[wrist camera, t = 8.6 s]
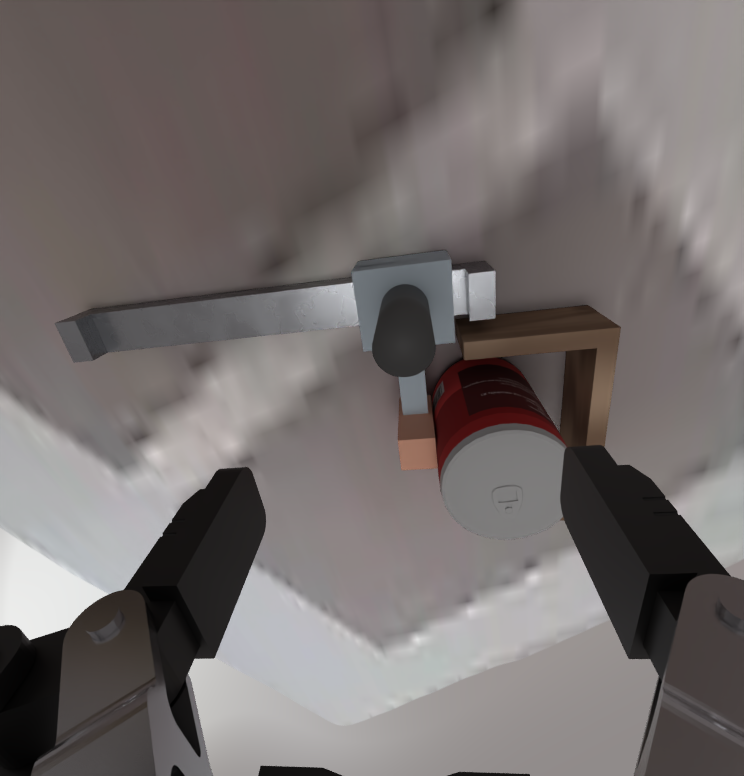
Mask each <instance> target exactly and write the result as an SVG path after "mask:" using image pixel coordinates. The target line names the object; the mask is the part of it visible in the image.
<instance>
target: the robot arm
mask: <svg viewBox="0 0 744 776" xmlns="http://www.w3.org/2000/svg"><path fill="white" fill-rule="evenodd" d="M560 504H561V510H562V514H563V518H564V521H565V523H566V525H567V528H568V530H569V532H570V534H571V536H572V538H573V540H574V543H575V545H576V547H577V549H578V551H579V553H580V555H581V558H582V560H583V562H584V564H585V566H586V568H587V570H588V573H589V575H590V577H591V579H592V581H593V583H594V585H595V588H596V590H597V592H598V594H599V596H600V598H601V600H602V603H603V605H604V607H605V609H606V611H607V613H608V615H609V618H610V620H611V622H612V624H613V626H614V628H615V630H616V633H617V634H618V637H619V639H620V641H621V643H622V646H623V648H624V650H625V652H626V654H627V656H628V658H629V659H651V661H652V663H653V665H654V667H655V669H656V671H657V673H658V675H659V676H658V680H657V683H656V687H655V691H654V695H653V699H652V704H651V707H650V711H649V716H648V720H647V723H646V727H645V732H644V736H643V740H642V744H641V748H640V752H639V756H638V760H637V764H636V768H635V772H634V776H744V580H741V579H738V578H735V577H731V576H730V575H729V573H728V572H727V571H726V570H725V569H724V567H723V566H722V565H721V564H720V563H719V561H718V560H717V559H716V558H715V556H714V555H713V554H712V553H711V552H710V550H709V549H708V548H707V547H706V545H705V544H704V543H703V542H702V541H701V539H700V538H699V537H698V536H697V534H696V533H695V532H694V531H693V530H692V528H691V527H690V526H689V525H688V524H687V522H686V521H685V520H684V519H683V517H682V516H681V515H678V513H677V510H676V509H675V508H674V506H673V505H672V504H671V503H670V502H669V500H666V499H665V495H664V494H663V493H662V492H661V491H660V489H659V488H658V487H657V486H656V485H655V483H654V482H653V481H652V480H651V479H650V478H649V477H647V476H646V475H644V474H643V473H641V472H640V471H638V470H636V469H635V468H633V467H632V466H630V465H617V464H616V462H615V461H614V460H613V458H612V457H611V456H610V454H609V453H608V452H607V450H606V449H605V448H604V447H603V446H602V445H589V446H574V447H567V448H566V449H565V452H564V459H563V470H562V481H561V492H560ZM265 527H266V514H265V509H264V506H263V503H262V500H261V497H260V494H259V491H258V488H257V485H256V482H255V479H254V476H253V473H252V471H251V470H250V469H249V468H248V467H242V468H227V469H219V470H218V471H216V473H215V474H214V476H213V477H212V479H211V480H210V482H209V484H208V485H207V487H206V488H205V489H200V490H199V491H197V492H196V493H195V494H194V495H193V496H191V497H190V498H189V499H188V500H187V501H186V502H184V503H183V504H182V506H181V507H180V509H179V510H178V512H177V513H176V515H175V516H174V518H173V519H172V523H169V525H168V526H167V528H166V529H165V531H164V532H163V536H162V537H160V538H159V539H158V541H157V542H156V544H155V545H154V547H153V548H152V550H151V551H150V553H149V554H148V555H147V557H146V558H145V560H144V561H143V563H142V564H141V566H140V567H139V569H138V570H137V572H136V573H135V574H134V576H133V577H132V579H131V580H130V582H129V583H128V585H127V586H126V588H125V589H124V590H122V591H117V592H114V593H111V594H109V595H107V596H105V597H103V598H101V599H99V600H97V601H96V602H95V603H93V604H92V605H91V606H89V607H88V608H87V609H85V610H84V611H83V612H82V613H81V614H80V615H79V616H78V617H77V618H76V620H75V621H74V622H73V623H72V625H71V626H70V628H67V629H64V630H61V631H58V632H55V633H51V634H48V635H45V636H42V637H38V638H35V639H32V640H29V639H28V638H27V637H26V636H25V635H24V634H23V632H22V631H21V630H20V629H19V628H18V627H16V626H13V625H5V626H0V776H213V773H212V770H211V768H210V763H209V759H208V755H207V750H206V746H205V741H204V737H203V732H202V728H201V724H200V719H199V714H198V710H197V705H196V701H195V696H194V691H193V687H192V682H191V679H190V677H189V675H188V672H189V670H190V667H191V665H192V663H193V661H194V659H195V658H196V659H200V658H201V659H202V658H215V656H216V653H217V651H218V648H219V646H220V643H221V641H222V638H223V636H224V633H225V631H226V628H227V625H228V623H229V620H230V618H231V615H232V613H233V610H234V608H235V605H236V603H237V600H238V598H239V595H240V593H241V590H242V588H243V585H244V583H245V580H246V578H247V575H248V573H249V570H250V568H251V565H252V563H253V560H254V558H255V555H256V553H257V550H258V548H259V545H260V543H261V540H262V538H263V535H264V532H265ZM258 776H342V775H339V774H337V773H334V772H332V771H329V770H327V769H324V768H314V767H311V768H310V767H282V766H280V767H279V766H261V767H260V771H259V775H258ZM448 776H530V774H509V773H506V774H505V773H474V772H458V773H455V774H452V775H448Z"/></svg>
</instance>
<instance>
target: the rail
mask: <svg viewBox="0 0 744 776" xmlns="http://www.w3.org/2000/svg"><path fill="white" fill-rule="evenodd" d="M452 285H453V306H454V315H463V314H467V316H468V318H469V320H470V321H476V320H485V319H495V270H494V269H493V268H492V267H491V266H490V265H489V264H488V263H487V262H486V261H480V262H472V263H463V264H455V265H452ZM55 325H56V327H57V329H58V331H59V333H60V335H61V337H62V340H63V342H64V344H65V346H66V348H67V350H68V352H69V354H70V356H71V358H72V360H73V362H83V361H93V360H95V359H97V358H99V357H100V356H102V355H104V354H106V353H108V352H116V351H125V350H135V349H144V348H153V347H163V346H172V345H181V344H191V343H200V342H210V341H219V340H228V339H238V338H247V337H256V336H266V335H275V334H285V333H294V332H303V331H313V330H322V329H331V328H341V327H350V326H359V319H358V313H357V306H356V300H355V293H354V287H353V280H352V277H349V278H341V279H333V280H325V281H317V282H309V283H301V284H292V285H284V286H276V287H268V288H260V289H252V290H244V291H235V292H227V293H219V294H211V295H203V296H195V297H186V298H178V299H170V300H162V301H154V302H146V303H138V304H129V305H121V306H113V307H105V308H97V309H90V310H87V311H85V312H82V313H80V314H77V315H74V316H72V317H69V318H67V319H64V320H62V321H59V322H57V323H55Z"/></svg>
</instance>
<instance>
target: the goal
mask: <svg viewBox="0 0 744 776" xmlns="http://www.w3.org/2000/svg"><path fill="white" fill-rule="evenodd" d="M455 322H456V336H457V339H458V342H459V345H460V348H461V351H462V355H463V358H464V360H474V359H485V358H495V357H506V356H517V355H528V354H539V353H550V352H560V351H566V362H565V375H564V388H563V400H562V413H561V426H560V435H561V436H562V438H563V440H564V441H565V444H566V445H567V447H574V446H589V445H602V446H603V447H604V446H605V439H606V431H607V424H608V417H609V409H610V402H611V395H612V388H613V380H614V373H615V366H616V359H617V351H618V344H619V337H620V329H621V327H620V326H618V325H617V324H615V323H614V322H612V321H611V320H609V319H608V318H606V317H605V316H603V315H602V314H600V313H599V312H597V311H596V310H594V309H593V308H591V307H590V306H588V305H584V306H575V307H565V308H556V309H546V310H537V311H527V312H518V313H508V314H499V315H495V319H485V320H476V321H470V320H469V318H461V319H455ZM561 520H564V518H563V517H562V518H561Z"/></svg>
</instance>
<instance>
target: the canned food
mask: <svg viewBox="0 0 744 776" xmlns="http://www.w3.org/2000/svg"><path fill="white" fill-rule="evenodd" d="M432 413H433V422H434V431H435V442H436V454H437V464H438V474H439V481H440V490H441V494H442V497H443V501H444V504H445V507H446V508H447V510H448V512H449V513H450V515H451V516H452V517H453V519H454V520H455V521H456V522H457V523H458V524H460V525H461V526H462V527H464V528H465V529H467V530H468V531H470V532H473V533H475V534H477V535H480V536H483V537H487V538H492V539H500V540H510V539H519V538H525V537H529V536H532V535H535V534H538V533H540V532H542V531H544V530H546V529H548V528H550V527H551V526H553V525H554V524H555V523H557V522H558V521H560V520H561V518H562V517H563V514H562V510H561V504H560V492H561V481H562V470H563V459H564V452H565V449H566V448H567V445H566V444H565V441H564V440H563V438H562V436H561V435H560V433H559V432H558V430H557V428H556V427H555V425H554V424H553V422H552V420H551V419H550V417H549V415H548V414H547V412H546V411H545V409H544V407H543V406H542V404H541V402H540V401H539V399H538V398H537V396H536V394H535V393H534V391H533V390H532V388H531V386H530V385H529V383H528V381H527V380H526V378H525V377H524V376H523V374H522V373H521V371H519V370H518V369H517V368H516V367H515V366H514V365H512V364H510V363H508V362H507V361H505V360H502V359H499V358H496V357H495V358H485V359H474V360H464V359H463V360H461V361H459V362H457V363H455V364H454V365H452V366H451V367H450V368H448V370H447V371H446V372H445V373H444V374H443V375H442V377H441V378H440V380H439V381H438V383H437V385H436V387H435V390H434V392H433V397H432Z"/></svg>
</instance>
